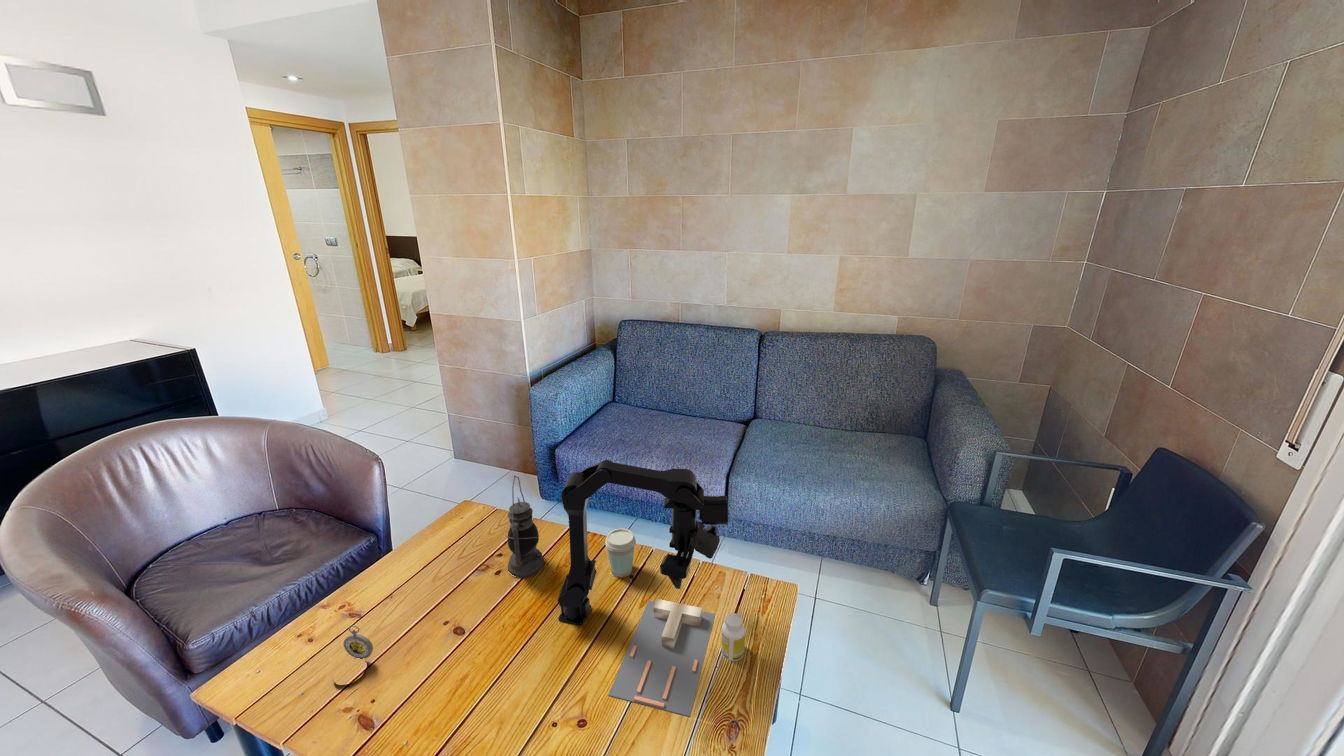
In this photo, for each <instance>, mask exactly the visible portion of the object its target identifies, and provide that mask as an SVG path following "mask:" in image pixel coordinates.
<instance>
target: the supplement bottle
mask: <svg viewBox="0 0 1344 756" xmlns="http://www.w3.org/2000/svg"><path fill="white" fill-rule="evenodd" d="M743 620H744V619H743V617H742V616H741V615H740V614H738V613H737V612H736V613H735V612H729V613H728V614H726V615H725V618H724V623H723V624H722V626H721V637H720V638H721V639H720V640H721V641H720V642H721V644H720V645H721V647H720V649H721V650H720V651H721V655H722V656H723V658H724V659H726V660H728V661H730V662H737V661H740V660H742V659H743V657H744V655H745V646H746V644H745V643H746V641H745V639H746V629H745V625H744V624H743V622H744V621H743Z"/></svg>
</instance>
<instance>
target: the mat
mask: <svg viewBox="0 0 1344 756" xmlns="http://www.w3.org/2000/svg"><path fill="white" fill-rule="evenodd" d="M655 602H656V601H655V600H654V601H653V600H650V599H649V600H647V603H646V606H645V607H644V610H643V613H642V615H641V617H640V620H639V622H638V624H637V627H636V628H635V631H634V633H633V635H632V638H631V641H630V643H629V646H628V648H627V651H626V653H625V655H624V657H623V659H622V661H621V665H620V667H619V669H618V671H617V674H616V676H615V678H614V681H613V683H612V685H611V688H610V690H609V693H608V694H607V696H608V697H611V698H614V699H618V700H621V701H625V702H629V703H633V704H637V705H641V706H644V707H648V708H651V709H654V710H655V709H656V710H659V711H664V712H667V713H670V714H674V715H679V716H682V717H687V718H689V719H690V718H691V714H692V710H693V706H694V703H695V702H694V701H695V697H696V694H697V690H698V686H699V682H700V677H701V673H702V668H703V665H704V661H705V656H706V655H707V654H706V653H707V649H708V646H709V642H710V641H709V640H710V637H711V632H712V629H713V625H714V620H715V616H716V614H715V613H712V612H706V611H703V610H702V620H701V623H700V627H699V626H695V625H690V624H685V623H682V625H681V628H680V631H679V634H678V637H677V640H676V644H675V647H674V649H673V648H669V647H664V646H662V634H663V631H664V628H665V625H666V622H667V619H662V618H657V617H654V608H653V607H654V605H655Z"/></svg>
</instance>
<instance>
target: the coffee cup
mask: <svg viewBox="0 0 1344 756" xmlns="http://www.w3.org/2000/svg"><path fill="white" fill-rule="evenodd" d="M604 545H605V547H606V549H607V553H608V554H607V555H608V561H609V566H610V570H611V571H610V572H611V575H612V576H613V577H616V578H626V577H628V576H630V575H631V573H632V571H633V564H634V554H635V545H636V537H635V535H634V532H632V531H631V530H629V529H628V528H624V527H623V528H622V527H621V528H616V529H613V530H611V531H610V532H609V533H608V534H607V536H606V538H605V542H604Z"/></svg>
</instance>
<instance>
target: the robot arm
mask: <svg viewBox="0 0 1344 756" xmlns="http://www.w3.org/2000/svg"><path fill="white" fill-rule="evenodd" d="M607 484H612V485H617V486H623V487H626V488H627V487H629V488H634V489H640V490H645V491H650V492H655V493H658V494H660V495H661V496H663V497H665V498H664V500H663V501H664V502H663V503H664V504H663V508H664V509H671V525H670V527H669V529H668V530H669V533H670V534H671V539H670V542H669V548H671V549H672V548H673V549H674V550H675V551H676V555H675V554H671V553H668V554H666V555H665V556H663V559H662V560H661V563H660V565H659V568H660V569H659V573H660V574H661V575H663V576H667V577H668V578H669V579H670V581H671V583H672V585H673V586H674V588H675V589H677V590H681V587H682V584H683V580H684V579H687V577H688V575H689V572H690V568H691V563H692V559H693V556H694V553H695V552H697V553H698V554H701V555H703V556H705V557H706V559H713V558H714V556H715V554H716V552H717V550H718V547H719V545H720V541H721V539H720V534H719V531H718V527H717V526H728V524H729V513H728V496H727V495H718V496H715V495H714V496H713V495H705V490H704V489H703V487H702V486H701V484H699V482H698V481H697V476H696V474H695V473H694V472H693V470H691V469H688V468H669V469H666V470H656V469H652V468H651V469H650V468H646V467H640V466H635V465H629V464H624V463H619V462H613V461H612V460H609V459H603V460H601V461H600V462H598V463H597V464H594V465H590V466H588V467H585V468H584V469H583V470H581V471H578V472H573V473H571V474H570V475H569V476H568V478H567V481H566V483H565V484H564V486H563V489H562V490H561V494H560V497H561V502H562V507H563V510H564V511H565V513H566V514H567V517H568V532H569V533H568V534H569V535H568V536H569V537H568V538H569V552H570V553H569V555H570V556H569V557H570V567H569V570H568V574H566V576H565V578H564V580H563V582H562V586H561V589H560V592H559V595H558V596H557V597H558V598H557V602H558V605H559V606H560V614H559V615H558V621H560V622H563V623H568V624H569V623H570V624H573V625H578V626H583V625H582V624H583V623H584V622H585V620H586V618H587V617H588V615H589V614H590V612H591V609H592V605H591V604H590V603H591V602H590V598H589V597H588V596H589V592H590V591H592V589H593V586H594V584H595V583H594V582H595V579H596V575H597V570H596V563H597V561H596V560H595V559H594V560H593V559H590V558H589V549H588V547H589V546H588V543H589V542H588V519H587V517H588V515H587V508H588V503H589V498H591V497H592V496H593V495H594V494H595V493H597V491H598V490H600V488H602V487H604V486H605V485H607ZM697 511H698V520H699V521H698V520H697ZM705 525H709V526H708V527H707V528H706V526H705ZM715 525H716V526H715Z"/></svg>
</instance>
